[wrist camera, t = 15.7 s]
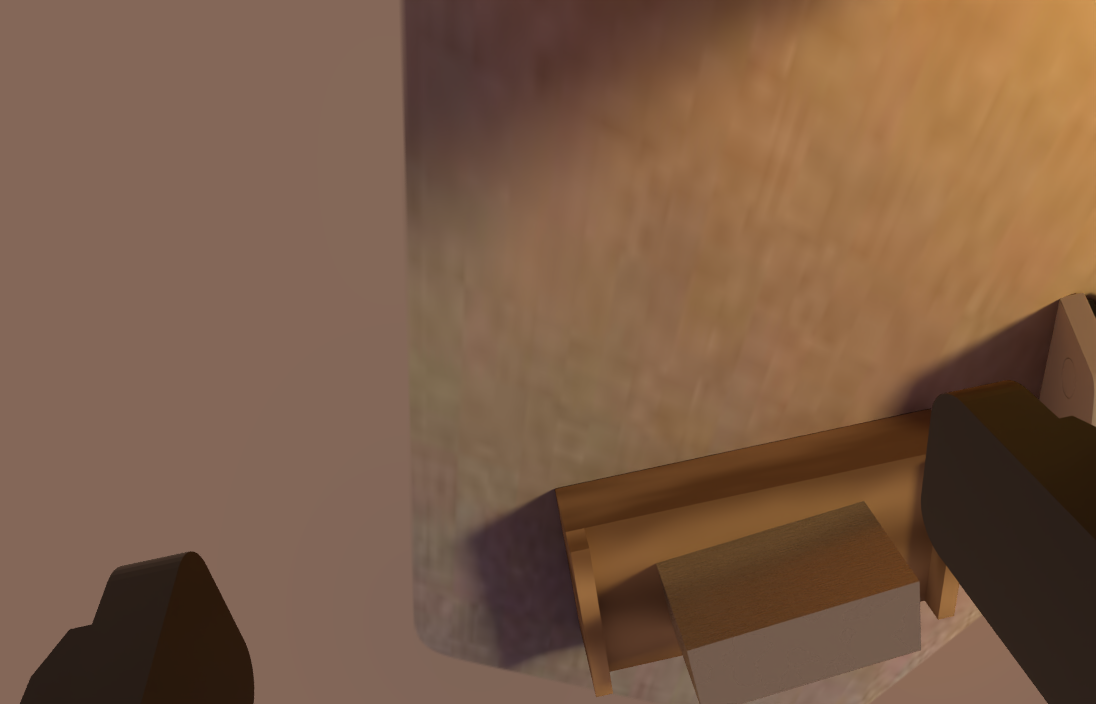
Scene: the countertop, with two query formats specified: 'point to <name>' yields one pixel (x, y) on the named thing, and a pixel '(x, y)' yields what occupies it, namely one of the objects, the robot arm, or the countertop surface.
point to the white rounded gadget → (1072, 361)
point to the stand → (733, 524)
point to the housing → (791, 605)
